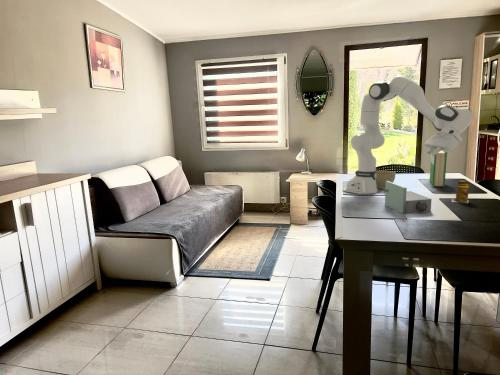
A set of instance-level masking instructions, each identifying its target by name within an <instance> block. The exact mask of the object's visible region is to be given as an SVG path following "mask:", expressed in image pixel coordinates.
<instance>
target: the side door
mask: <svg viewBox="0 0 500 375" xmlns="http://www.w3.org/2000/svg"><path fill="white" fill-rule="evenodd" d="M406 191H408V190H407V187H406V186H402V185H401V184H398V183H395V182H393V183H392V182H390V181H386V188H385V189H384V192H385V193H384V196H385V197H384V205H385V206H386V207H388V206H389V207H388V208H390V209H392V210H395V211H396V212H398V213H401V214H403V215H406V214H405V211H406Z"/></svg>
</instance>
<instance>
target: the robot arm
mask: <svg viewBox="0 0 500 375" xmlns="http://www.w3.org/2000/svg"><path fill="white" fill-rule="evenodd" d="M397 96H398V97H399V98H400V99H402V100H403V101H405V103H407V104H409V105H411V107H413V108H414V109H415V110H417V111H418V113H420V114H421V115H422V116H424V117H425V118H426V119H427V120H428V121H430V122H431V124H432V125H433V127H434V129H435V130H436V131H438V133H436V134H433V135H431V137H429V138H428V139H427V140H426V141H425V142H424V146H426V148H427V149H428V150H427V151H426V154H427V155H431V154H432V155H436V154H437V153H438V152H440V151H441V150H445V151H446V152H451V151H453V150H454V149H455V148H456V147H457V146H458V145H459V143H461V142H462V141H463V138H462V137H461V134H462V133H463V132H464V131H465V130H466V129H467V128H468V127H469V126H470V125H471V124H472V122H473V120H474V114H473V113H472V111H471V110H470V109H469V108H466V107H464V108H459V107H453V106H451V105H450V104H443V105H439V106H438V107H437V108H436V109H435V108H434V107H433V106H431V105H430V103H428V101H427V99H426V95H425V92H424V89H423V87H421V86H420V84H418V83H417V82H415V81H414V80H412V79H410V78H408V77H406V76H405V75H404V76H403V75H399V74H398V75H396V76H395V77H393V78H391V81H377V82H374V83H372V84H371V85H370V86H369V89H368V93H366V94H364V96H363V99H362V103H361V110H360V124H361V125H362V127H363V129H364V132H363V133H357V134H354V135H353V136H352V137H351V140H350V146H351V147H352V149H353V150H354V151H355V153H356V156H357V158H358V159H357V162H358V169H357V170H356V171H354V174H355V176H353V177H352V178H350V179H348V181H347V183H346V187H344V188H343V189H342V192H345V193H346V192H347V193H354V194H359V195H368V194H369V195H370V194H376V193H378V188H377V186H376V177H377V173H376V171H377V159H376V157H375V156H374V155H373V153H372V150H375V149H378V148H381V147H383V145H384V144H385V136H384V134H383V133H382V132H381V129H380V124H379V123H380V122H379V121H380V109H381V108H380V107H381V103H382V102H386V101H389V100H392V99H394V98H396V97H397ZM434 149H436V150H435V151H433V152H432V150H434Z"/></svg>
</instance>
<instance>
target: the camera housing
mask: <svg viewBox="0 0 500 375" xmlns="http://www.w3.org/2000/svg"><path fill="white" fill-rule="evenodd" d="M432 200H433V199H432V198H430V197H428V196H426V195H425V196H424V195H422V194H420V193H417V192H414V191H410V190H407V191H406V211H405V214H404V215H406V214H419V213H421V214H422V213H430V212H432Z"/></svg>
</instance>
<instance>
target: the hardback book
mask: <svg viewBox="0 0 500 375" xmlns="http://www.w3.org/2000/svg"><path fill="white" fill-rule="evenodd" d="M435 150H436V149H434V150H432V152H433V151H435ZM430 156H431V157H430V169H429V184H430V185H431V187H432V188H435V187H442V188H445V187H446V186H445V185H446V173H447V172H446V171H447V160H448V159H447V157H448V151H445V150H441V151H440V152H438V153H437V154H436V155H432V154H430Z"/></svg>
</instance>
